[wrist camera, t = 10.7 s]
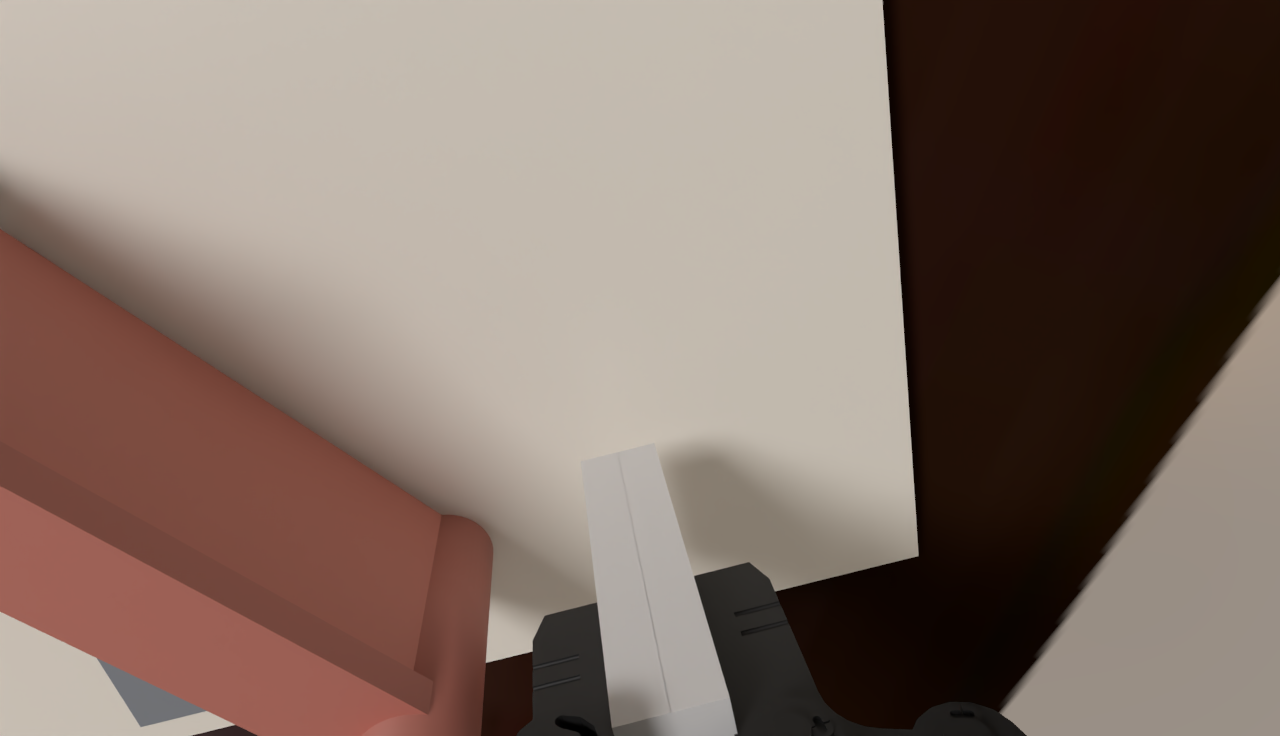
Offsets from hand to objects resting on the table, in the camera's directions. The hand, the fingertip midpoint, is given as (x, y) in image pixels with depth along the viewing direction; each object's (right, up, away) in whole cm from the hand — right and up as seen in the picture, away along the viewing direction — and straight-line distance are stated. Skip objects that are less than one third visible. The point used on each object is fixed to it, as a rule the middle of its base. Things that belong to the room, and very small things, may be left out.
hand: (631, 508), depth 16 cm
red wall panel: (-8, +1, 0) cm, 8 cm away
